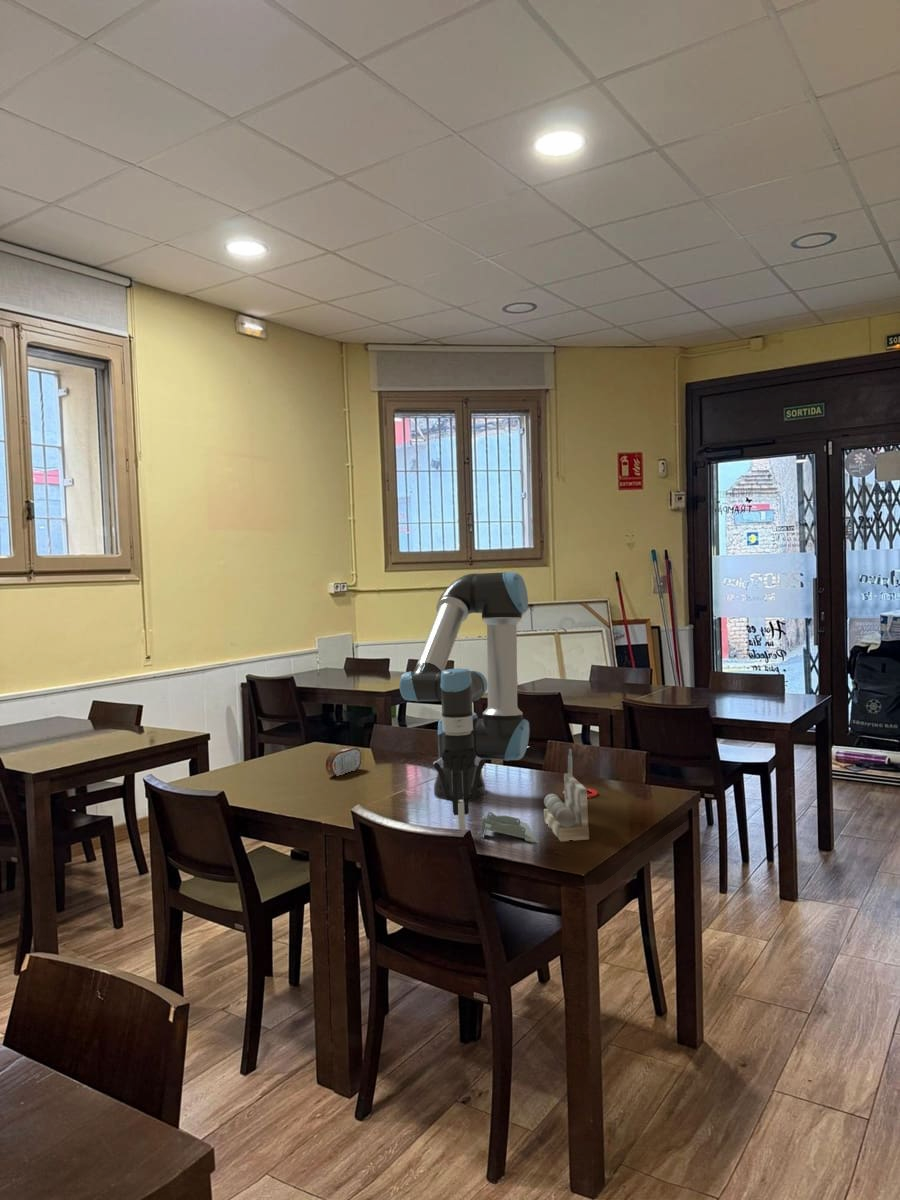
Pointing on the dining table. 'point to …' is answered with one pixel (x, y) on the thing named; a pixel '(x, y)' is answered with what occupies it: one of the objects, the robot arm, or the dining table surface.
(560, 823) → the hinge seat
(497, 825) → the metal bracket
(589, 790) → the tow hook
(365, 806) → the dining table surface
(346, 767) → the tin
